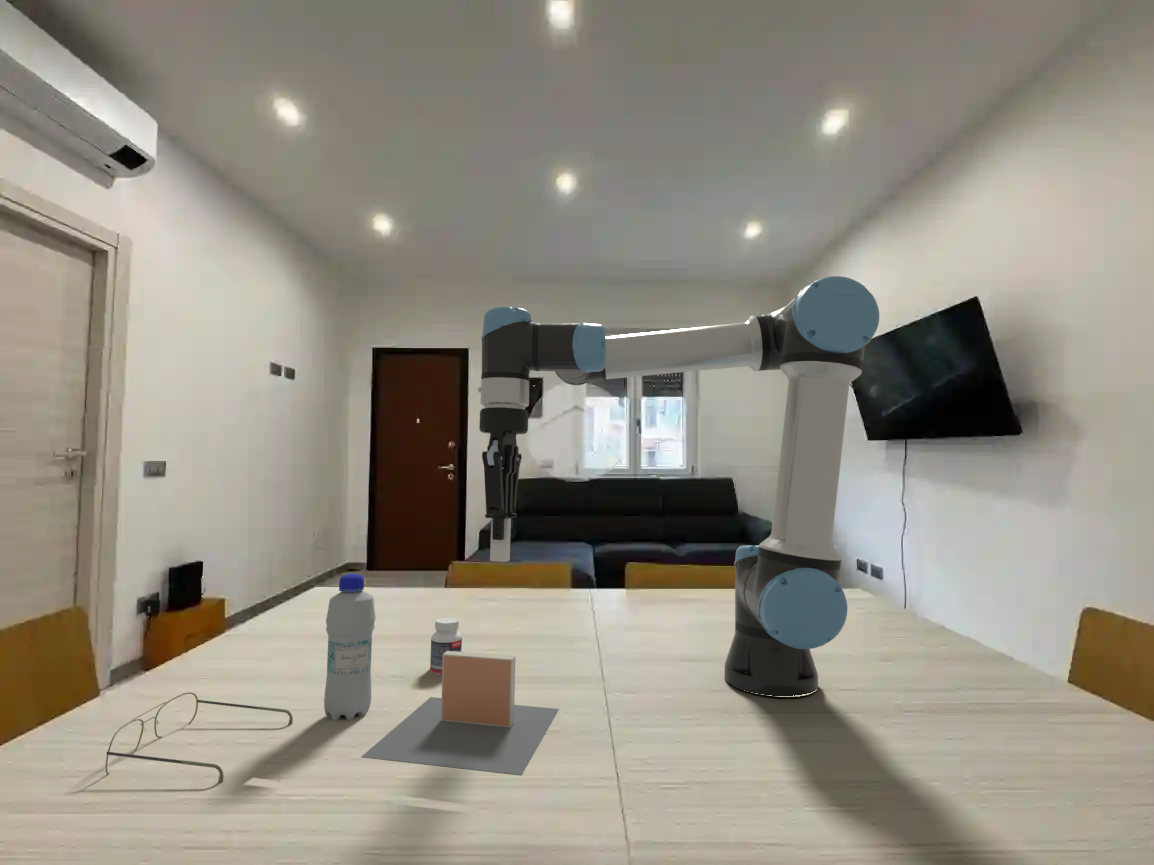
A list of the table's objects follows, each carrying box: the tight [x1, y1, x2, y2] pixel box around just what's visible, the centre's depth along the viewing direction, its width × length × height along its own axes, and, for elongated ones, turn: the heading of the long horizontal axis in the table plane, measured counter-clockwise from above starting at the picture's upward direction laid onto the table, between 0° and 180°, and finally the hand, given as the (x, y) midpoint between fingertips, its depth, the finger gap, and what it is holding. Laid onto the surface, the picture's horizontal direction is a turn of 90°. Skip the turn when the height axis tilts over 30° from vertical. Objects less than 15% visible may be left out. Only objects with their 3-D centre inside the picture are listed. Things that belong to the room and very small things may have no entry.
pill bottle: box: [429, 617, 463, 675], centre depth 108 cm, size 5×5×9 cm
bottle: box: [323, 573, 376, 721], centre depth 89 cm, size 7×7×20 cm
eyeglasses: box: [104, 691, 294, 783], centre depth 78 cm, size 16×15×5 cm
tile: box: [441, 651, 516, 727], centre depth 86 cm, size 10×2×9 cm, turn 79°
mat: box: [360, 696, 560, 776], centre depth 83 cm, size 20×20×1 cm
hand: (499, 560), depth 96 cm, fingers closed
